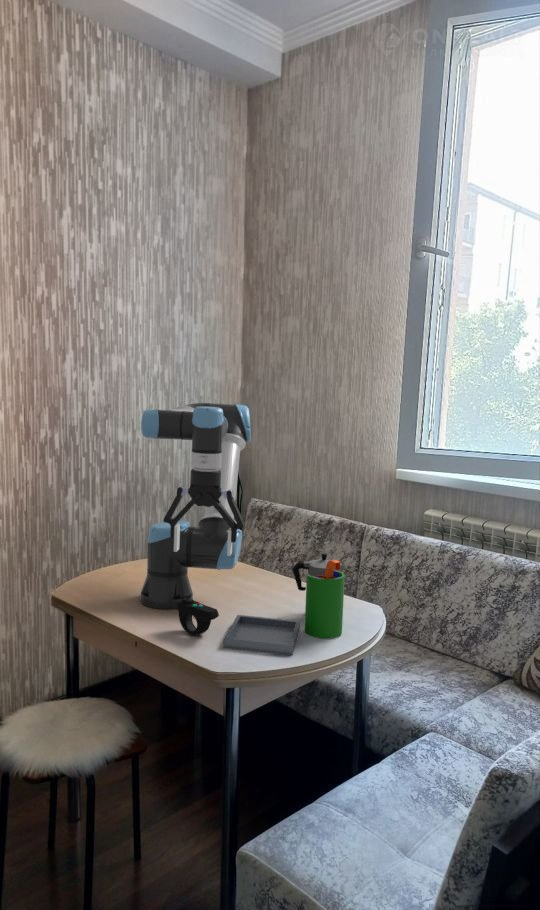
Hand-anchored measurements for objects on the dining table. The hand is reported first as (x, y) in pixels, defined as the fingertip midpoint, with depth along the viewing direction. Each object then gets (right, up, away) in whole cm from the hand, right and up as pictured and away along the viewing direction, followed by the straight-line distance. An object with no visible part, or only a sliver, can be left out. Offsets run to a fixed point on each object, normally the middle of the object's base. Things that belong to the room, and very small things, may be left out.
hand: (202, 552), depth 174 cm
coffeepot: (+30, -21, +21) cm, 42 cm away
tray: (+15, -22, +2) cm, 27 cm away
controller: (-2, -22, +3) cm, 22 cm away
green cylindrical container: (+31, -23, +9) cm, 40 cm away
